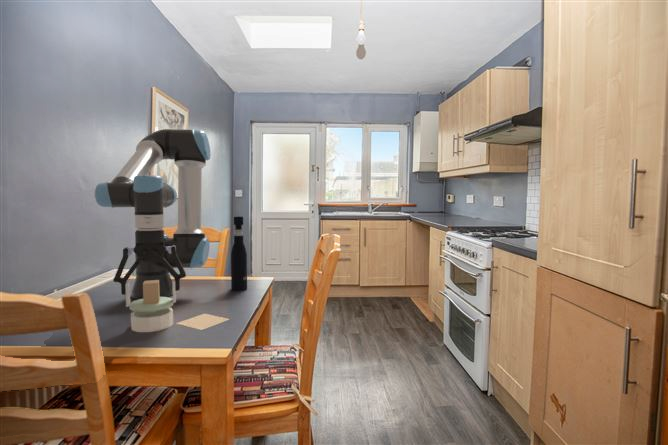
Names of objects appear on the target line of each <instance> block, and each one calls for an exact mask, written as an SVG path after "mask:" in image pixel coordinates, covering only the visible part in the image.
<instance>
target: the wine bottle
mask: <svg viewBox="0 0 668 445" xmlns="http://www.w3.org/2000/svg"><path fill="white" fill-rule="evenodd" d="M243 225H244V216H234V217H233V226H235V230H234V235H233V245H232V247H231V252H230V276H231V278H230V281H231V283H230V285H231V287H230V288H231V290H232V291H234V292H241V291H245V290H247V289H248V254H247V248H246V245H245V242H244V233H243Z"/></svg>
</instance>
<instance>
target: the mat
mask: <svg viewBox="0 0 668 445" xmlns="http://www.w3.org/2000/svg"><path fill="white" fill-rule="evenodd" d="M229 320H230V318H225V317H221V316H217V315H213V314H209V313H202V314H199V315H196V316H194V317H193V316H192V317H191V318H187V319H185V320H181V321H179V322H176V323H175V324H176V325H179V326H184V327H188V328H191V329H194V330H195V329H196V330H199V331H203V330H206V329H208V328H211V327H214V326H217V325H219V324H222V323H224V322H227V321H229Z"/></svg>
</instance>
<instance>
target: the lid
mask: <svg viewBox="0 0 668 445" xmlns="http://www.w3.org/2000/svg"><path fill="white" fill-rule="evenodd" d="M172 306H174V303H173V297H170V296H168V297H160V290H159V280H149V281H144V283H143V299H134V300H133V301H130V304H129V310H130V311H131V312H153V311H159V310H163V309H167V308H169V307H170V308H172Z"/></svg>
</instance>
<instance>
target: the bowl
mask: <svg viewBox="0 0 668 445" xmlns="http://www.w3.org/2000/svg"><path fill="white" fill-rule="evenodd" d="M173 325H174V310H173V308H172V307H169V308H167V309H163V310H159V311H153V312H134V311H131V313H130V328H131V331H133V332H137V333H152V332H153V333H154V332H159V331H163V330H165V329H168V328H171V327H172V326H173Z"/></svg>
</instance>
